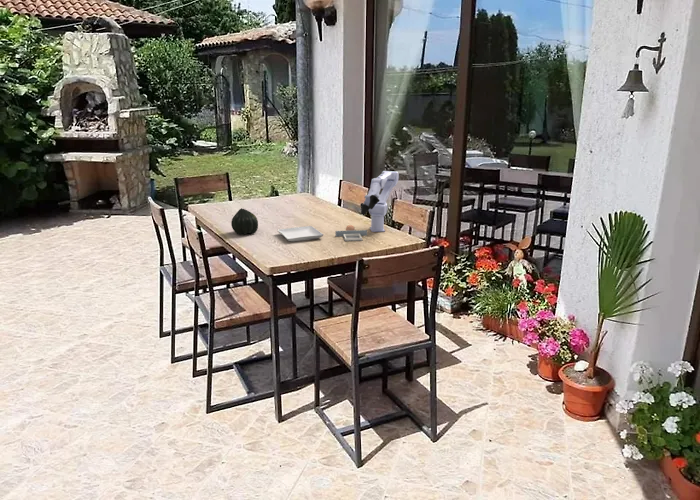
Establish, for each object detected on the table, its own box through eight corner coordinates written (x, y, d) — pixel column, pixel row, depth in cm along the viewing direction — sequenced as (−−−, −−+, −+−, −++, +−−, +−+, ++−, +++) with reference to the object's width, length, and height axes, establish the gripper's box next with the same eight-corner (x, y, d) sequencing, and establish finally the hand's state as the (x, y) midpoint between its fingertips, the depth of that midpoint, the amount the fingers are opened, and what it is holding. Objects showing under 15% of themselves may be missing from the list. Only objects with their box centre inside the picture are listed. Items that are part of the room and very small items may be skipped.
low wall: (335, 236, 304) (335, 230, 303) (366, 235, 306) (366, 230, 305) (335, 236, 303) (335, 231, 302) (367, 235, 305) (367, 230, 304)
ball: (345, 232, 311) (345, 224, 310) (353, 232, 312) (354, 224, 311) (346, 234, 307) (346, 226, 305) (355, 234, 307) (355, 226, 306)
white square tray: (342, 236, 303) (342, 233, 303) (360, 236, 304) (360, 233, 304) (344, 241, 294) (344, 238, 293) (362, 240, 295) (362, 238, 294)
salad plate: (287, 244, 289) (287, 238, 288) (276, 234, 307) (276, 228, 306) (324, 240, 297) (324, 234, 296) (311, 231, 316) (311, 225, 315)
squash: (258, 227, 299) (256, 204, 305) (230, 229, 297) (229, 206, 303) (259, 239, 312) (257, 216, 318) (233, 241, 310) (232, 218, 316)
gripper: (360, 196, 306) (353, 212, 298) (375, 184, 296) (368, 200, 287) (370, 203, 308) (363, 219, 300) (385, 191, 298) (378, 208, 289)
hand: (366, 211), depth 294 cm, fingers open, 7 cm apart
